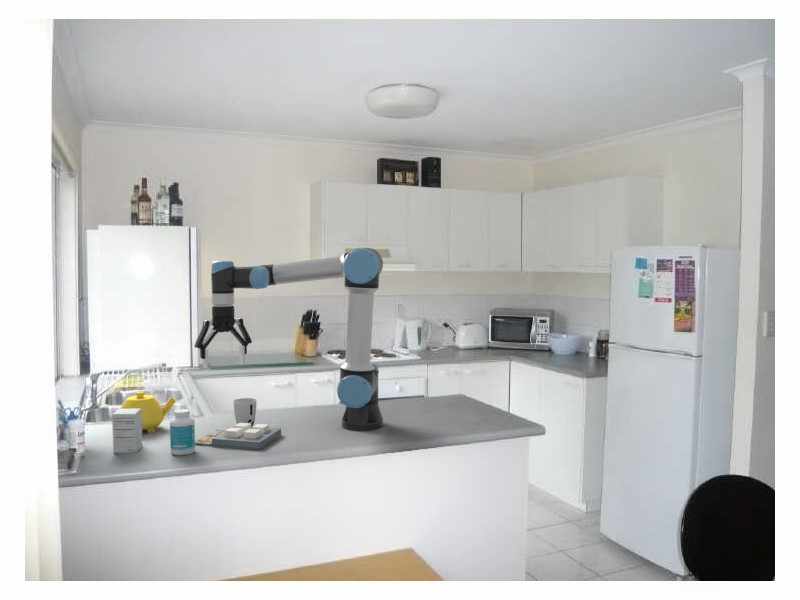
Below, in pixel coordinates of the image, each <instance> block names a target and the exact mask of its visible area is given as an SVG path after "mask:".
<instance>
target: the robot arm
mask: <svg viewBox="0 0 800 600" xmlns="http://www.w3.org/2000/svg"><path fill="white" fill-rule="evenodd" d="M383 266H384V262H383V258H382V256H381V254H380V252H378V251H377V250H376V249H373V248H371V247H357V248H354V249H352V250H351V251H350V252H344V253H343V254H342V255H341V256H332V257H331V256H330V257H324V258H315V259H314V258H313V259H307V260H298V261H289V262H280V263H272V264H261V265H255V266H254V265H253V266H235V264H234V261H232V260H215V261H213V262H212V263H211V273H210V276H211V277H210V278H211V279H210V280H211V304H212V307H211V315H212V317H211V318H212V319H211V320H207V319H205V320H203V322H202V328H201V330H200V332H199V334H198V336H197V338H196V341H195V343H194V348H196V349H199V355H200V359H202V368H204V369H205V370H206V369H207V370H209V349H207V347H209V345H210V343H211V342H213V339H214V338H215V337H216V336H217V335H218V333H225V332H226V333H229V332H230V333H231V334H232V335H233V337H235V338H236V340H237V341H238V342H239V343H240V344H241V345H240V344H239V345H238V346H239V347H238V350H239V351H238V352H239V353H238V354H239V357H238V358H239V365H245V364H246V362H245V361H246V359H245V358H246V357H245V356H246V355H247V353H248V351H247V349H248V346H249V344H252V342H253V341H252V338H251V337H250V335H249V333H248V331H247V328H246V327H245V324H244V319H243V318H242V317H237V318H235V306H234V305H235V289H250V290H253V289H255V290H261V289H266V288H267V287H269V286H276V285H284V284H295V283H304V282H305V283H306V282H312V281H314V282H315V281H323V280H330V279H332V280H333V279H340V278H341V279H342V278H344V284H343V286H344V289H346V291H347V294H348V298H347V299H348V301H347V317H346V318H347V319H346V339H345V357H344V358H345V359H344V362H342V364H341V365H340V367H339V369H340V371H339V382H338V384H337V386H336V393H337V394H336V395H337V397H338V400H339V401H340V403H342V404H343V405H344V406H345V407H344V411H343V415H342V418H341V427H342V428H344V429H347V430H351V431H372V430H378V429H380V428H382V427H383V426H384V418H383V414H382V411H381V409H380V405H379V365H378V364H377V363H373V362H371V355H372V353H371V352H372V339H373V337H372V335H373V333H372V332H373V318H374V298H375V297H374V294H375V293H376V292H377V291H378V290H379V284H380V275H381V273H382V271H383ZM211 325H212V328H211V330H210V332H209V333H208V331H209V329H210V327H211ZM235 325H237V327H238V329H239V330H240V332H239V331H238V330H237V329H236V327H234V326H235ZM207 333H208V334H207ZM240 333H241V334H240Z"/></svg>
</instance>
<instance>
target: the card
mask: <svg viewBox="0 0 800 600" xmlns="http://www.w3.org/2000/svg"><path fill="white" fill-rule="evenodd" d="M226 430H227V429H216V430H214V431H212V432H210V433H208V434H206V435H204V436H202V437H200V438H199V439H196V440H195V446H205V447H211V446H212V438H214V437H216V436H218V435H219V434H221V433H223V432H225V431H226Z"/></svg>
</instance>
